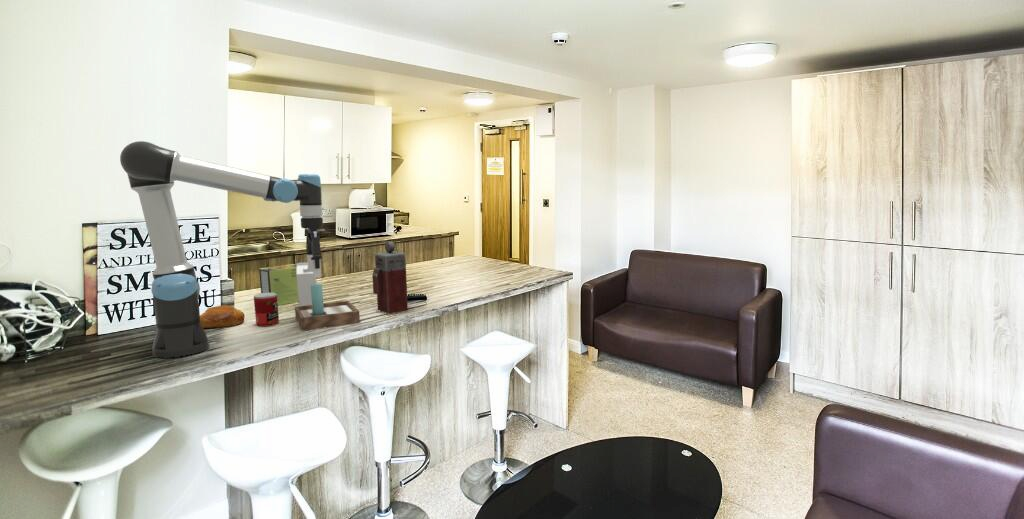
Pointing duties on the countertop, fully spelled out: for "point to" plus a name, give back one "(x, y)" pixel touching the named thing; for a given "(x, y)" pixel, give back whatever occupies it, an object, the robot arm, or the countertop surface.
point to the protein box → (280, 282)
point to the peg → (317, 299)
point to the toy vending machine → (390, 280)
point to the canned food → (266, 309)
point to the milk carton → (304, 284)
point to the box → (327, 315)
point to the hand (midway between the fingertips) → (314, 274)
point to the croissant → (221, 317)
